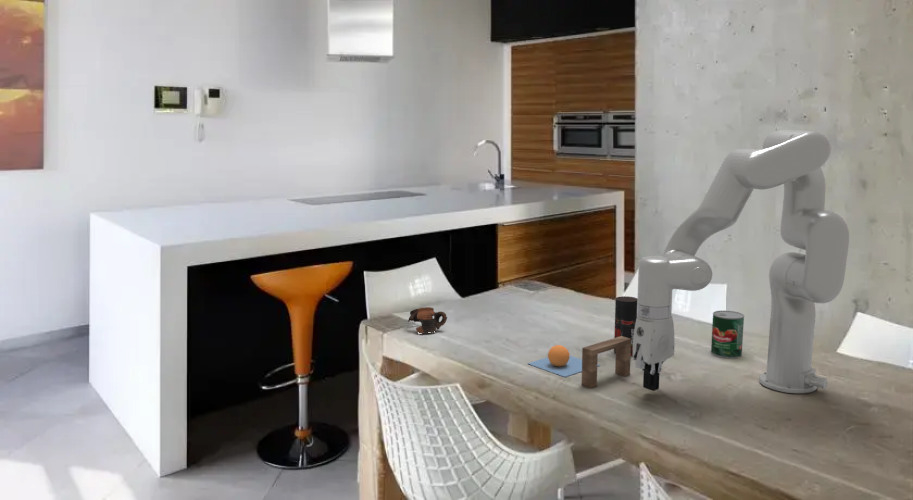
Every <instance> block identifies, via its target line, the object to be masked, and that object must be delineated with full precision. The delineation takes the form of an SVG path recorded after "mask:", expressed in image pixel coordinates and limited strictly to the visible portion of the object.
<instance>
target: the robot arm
mask: <svg viewBox="0 0 913 500" xmlns="http://www.w3.org/2000/svg"><path fill="white" fill-rule="evenodd" d="M762 144H763V145H762V149H757V148H745V147H744V148H736V149H734V150H732V151H730V152H729V153H727V155H726V157H725V158H724V159H723V161H722V163H721V165H720V167H719V169H718V170H717V173H716V175H715V176H714V178H713V181H712V183H711V184H710V186H709V189H707V192H706V194H705V196H704V197H703V199H702V202H701V203H700V205H698V207H697V208H696V210H694V211H693V212H692V213H691V214H690V215H689V216H688V217H686V219H685V220H684V221H683V222H682V223H681V224H680V225H679V226H678V227H677V228H676V229H675V231H674V232H673V234H672V235H671V237H670V239H669V241H668V242H667V244H666V246H665V248H664V250H663V252H662V255H647V256H643V257H642V258H640V259H639V261H638V271H637V272H638V274H637V275H638V276H637V319H636V324H635V329H634V337H633V356H632V358H633V360H634V361H635V365H634V367H635V368H637V369H639V370H641V371H642V372H643V377H642V378H643V383H642V387H643V388H644V389H646V390H649V391H653V392H654V391H657V390H659V389H660V375H661V372H662V367H663V364H664V362H666V361H667V360H669V359H671V358H672V357H673V356H674V355H675V344H676V343H675V324H674V318H673V316H672V310H673V309H672V308H673V306H672V305H673V290H681V291H687V292H688V291H689V292H690V291H693V292H694V291H695V292H696V291H701V290H703V289H704V288H706V287H708V286H709V284H710V283H711V281H712V279H713V270H712V268H711V265H710V264H709V263H708V262H707V261H705V260H704V259H702V258H700V257H698V256H695V255H696V254H697V252H698V251H699V249H700V248H701V246H702V245H703V243H705V241H706V240H708V238H710V237H711V236H713V235H714V234H717V233H719V232H721V231H723V230H726V229H727V228H728V229H729V228H731V227H732V226H734V225H735V224H736V223H737V222H738V219H739V218H740V215H741V214H742V212H743V210H744V208H745V206H746V205H747V202H748V201H749V199H750V196H751V194H752V193H753V191H754V190H761V191H762V190H769V189H772V188H776V187H779V186H781V185H783V201H782V202H783V203H782V211H781V220H780V229H779V230H780V237H781V239H782V240H783V242H784V243H786V244H787V245H788V246H792V247H794V248H797V249H800V250H804V251H805V254H804V253H800V252H785V253H781V254H780V255H778V256H777V257H776V258H774V260H773V261H772V263H771V265H770V268H769V272H768V277H769V278H768V279H769V288H770V299H771V300H770V303H771V304H770V319H769V332H768V333H769V334H768V345H767V346H768V347H767V361H766V372H762V373H761V374H759V376H758V381H759V384H761V385H762V386H764V387H766V388H768V389H770V390H774V391H777V392H780V393H787V394H788V393H789V394H808V393H813V392H815V391H816V390H817V389H818V388H820V389H824V390H825V389H826V388H827V387H828V380H827V377H823V376H818V375H817V374H816V370H817V369H816V368H814V367H812V362H813V351H814V340H815V339H814V337H815V326H816V316H817V315H816V306H815V305H816V304H827V303H831V302H832V301H833V300H836V298H837V297H838V296H839V295H840V292H841V291H842V289H843V286H844V283H845V275H846V269H847V260H848V252H849V245H850V244H849V243H850V231H849V228H848V225H847V223H846V221H845V219H844V218H843V217H842V216H841V215H840V214H838V213H836V212H834V211H830V210H826V209H825V202H826V177H825V174H824V172H823V169H822V167H823V166H824V165H825V164H826V163H827V162H828V160H829V157H830V154H831V148H832V147H831V143H830V140H829V139H828V137H826V136H825V134H823V133H822V132H819V131H817V130H807V129H806V130H805V129H804V130H801V129H800V130H798V129H779V130H774V131H771V132H770V133H769V134H768V135H766V136H765V138H764V139H763V143H762Z"/></svg>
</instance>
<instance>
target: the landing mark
mask: <svg viewBox="0 0 913 500" xmlns="http://www.w3.org/2000/svg"><path fill="white" fill-rule="evenodd" d="M529 364H530V365H529ZM527 365H529V366H532V367H534V368H535V367H536V368H537V367H538V369H540V368H541V369H540V370H543V371H547V372H550V373H551V372H552V373H551V374H555V375H557V374H558V376H560V377H563V378H567V377H570V376H573V374H574V375H576V374H579V373H582V358H578V357H575V356H572V355H570V358H569V361H568V363H567V364H566V365H564V366H561V367H557V366H554V365H552V364H551V363H550V361H549V359H548V356H547V357H545V358H541V359H537V360H534V361H531V362H528V363H527ZM599 367H600V364H597V368H599Z"/></svg>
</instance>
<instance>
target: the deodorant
mask: <svg viewBox="0 0 913 500" xmlns="http://www.w3.org/2000/svg"><path fill="white" fill-rule="evenodd" d="M637 299H638V297H633V296H617V297H615V305H614V308H615V309H614V310H615V311H614V335H613V337H614V338H617V337H620V336H623V337H627V338H630V339H631V357H633V337H634V329H635V324H636V319H637ZM613 354H614V355H616V348H615V349H613Z"/></svg>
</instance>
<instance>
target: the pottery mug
mask: <svg viewBox="0 0 913 500" xmlns="http://www.w3.org/2000/svg"><path fill="white" fill-rule="evenodd" d="M409 315H410V316H409V317H408V321H407V322H408V323H409V322H414V323H417V322H419V323H420V326H417V327H416V328H415V330H416V333H417V332H419V333H425V334H429V333H428V332H434V331H437V330H439V329H440V328H441V327H442V326H444V325H445V324H446V323H447V319H448V316H447V314H446V313H445V312H444V311H436V312H435V311H434V308H433V307H429V306H428V307H427V306H424V307H419V308H415V309H413V310H411V311H410V312H409ZM441 317H442V318H441ZM440 318H441V320H440Z"/></svg>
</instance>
